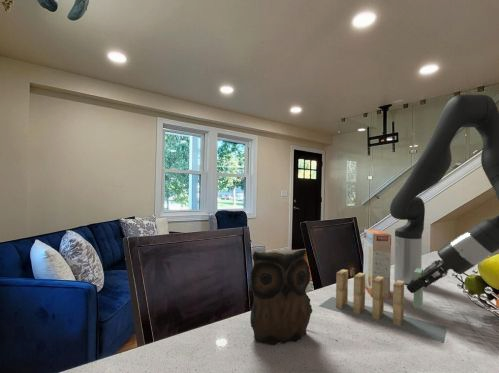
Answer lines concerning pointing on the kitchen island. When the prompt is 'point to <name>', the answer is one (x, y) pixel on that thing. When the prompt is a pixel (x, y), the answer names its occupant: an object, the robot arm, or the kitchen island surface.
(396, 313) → the domino
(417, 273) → the domino
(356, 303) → the domino
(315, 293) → the kitchen island surface
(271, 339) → the owl
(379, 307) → the domino
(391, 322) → the mat
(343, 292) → the domino
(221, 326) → the kitchen island surface
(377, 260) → the cracker box
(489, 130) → the robot arm
